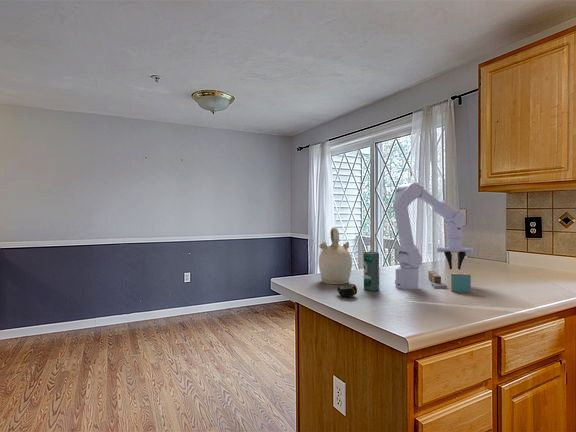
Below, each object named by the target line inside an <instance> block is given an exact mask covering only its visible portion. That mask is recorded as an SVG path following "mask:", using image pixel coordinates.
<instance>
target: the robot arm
mask: <svg viewBox="0 0 576 432" xmlns="http://www.w3.org/2000/svg"><path fill="white" fill-rule="evenodd" d="M394 194H395V195H394V200H393V205H392V207H393V211H394V217H395V222H396V223H395V224H396V228H397V234H398V238H399V239H398V240H399V247H398V248H397V256H396V259H397V262H398V263H399V266H396V267H395V280H394V285H395V289H406V290H408V289H409V290H420V285H419V284H420V283H419V268H420V266H422V263H423V257H422V255H421V253H420V252H419V248H418V247H417V245H416V244H415V243H414V242H415V241H414V237H413V231H412V225H411V219H410V218H411V217H410V213H409V206H410V204H412V203H413V202H414V201H416V200H417V199H420V200H421V201H423V202H424V203H426V204H427V205H429V206H431V207H433V208H432V209H433V212H434V213H436V214H437V215H439V216H441V218H443V220H444V222H445V223H447V233H446V235H447V238H446V239H447V246H446V247H436V253H443V254H444V256H445V258H446V260H447V263H448V267H449V270H452V269H453V263H452V261H453V254H452V253H457V270H461V267H462V264H463V262H464V259H465V258H466V255H467V253H468V254H470V253H471V254H474V251H475V250H474V249H475V248H473V247H463V227H464V223H465V220H466V216H465V214H464V213H463V212H462V211H461V210H457V209H456V208H455V207H454V206H451V205H450V204H448V201H446V200H439V199H437V198H436V197H434V196H433V195H432V194H431V193H430V192H429V191H428V190H426V189H425V188H424V186H422V185H421V184H419V182H412V183H406V184H400V185H398V186H397V188H396V189H395V190H394Z"/></svg>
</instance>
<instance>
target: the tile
mask: <svg viewBox="0 0 576 432" xmlns="http://www.w3.org/2000/svg"><path fill="white" fill-rule="evenodd" d="M449 277H450V278H449V286H450V287H449V288H450V289H449V290H450V292H457V293H471V292H472V290H471V289H472V284H471V283H472V279H471V278H472V276H471V273H467V272H466V273H465V272H464V273H462V272H449Z"/></svg>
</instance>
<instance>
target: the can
mask: <svg viewBox="0 0 576 432" xmlns="http://www.w3.org/2000/svg"><path fill="white" fill-rule="evenodd" d="M362 253H363V289H364V290H365V291H374V292H375V291H379V290H380V253H379V251H378V252H377V251H364V252H362Z"/></svg>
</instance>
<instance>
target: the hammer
mask: <svg viewBox="0 0 576 432" xmlns="http://www.w3.org/2000/svg"><path fill="white" fill-rule="evenodd" d="M427 272H428V278H427V279H428V281H429V282H430V283H431V286H432V287H433V289H441V290H442V289H445V290H447V289H448V285H447V284H446V283H442V276H441V275H440V274H439V273H438V272H436V271H435V270H428V271H427Z"/></svg>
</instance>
